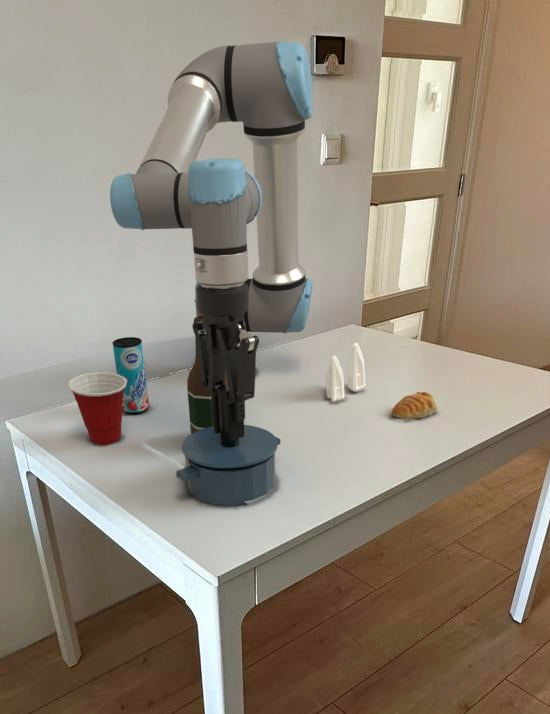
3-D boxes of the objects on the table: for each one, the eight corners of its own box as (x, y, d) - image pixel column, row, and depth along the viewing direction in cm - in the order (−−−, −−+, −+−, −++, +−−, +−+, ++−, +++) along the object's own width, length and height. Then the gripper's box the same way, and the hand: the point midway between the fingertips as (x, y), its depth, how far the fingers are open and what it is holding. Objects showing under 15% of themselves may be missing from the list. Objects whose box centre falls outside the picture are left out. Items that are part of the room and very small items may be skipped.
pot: (158, 487, 106) (154, 454, 103) (249, 452, 117) (248, 420, 114) (209, 522, 97) (207, 486, 93) (304, 480, 107) (305, 446, 104)
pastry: (409, 425, 124) (411, 407, 122) (382, 416, 129) (384, 398, 127) (438, 412, 129) (441, 395, 127) (412, 404, 134) (413, 386, 132)
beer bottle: (191, 436, 123) (181, 312, 111) (231, 434, 124) (225, 309, 111) (192, 454, 117) (181, 324, 104) (234, 451, 117) (228, 321, 105)
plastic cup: (108, 455, 118) (99, 394, 111) (67, 444, 123) (55, 385, 116) (145, 434, 125) (138, 376, 119) (105, 424, 130) (96, 367, 124)
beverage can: (125, 417, 133) (115, 347, 125) (119, 407, 138) (109, 339, 130) (152, 412, 135) (144, 343, 127) (145, 403, 140) (137, 335, 132)
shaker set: (357, 385, 144) (360, 337, 138) (371, 390, 141) (375, 341, 136) (320, 398, 138) (321, 349, 132) (334, 404, 135) (336, 353, 129)
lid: (164, 448, 104) (157, 387, 99) (237, 422, 113) (235, 364, 107) (221, 481, 94) (217, 415, 88) (297, 450, 102) (298, 388, 96)
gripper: (168, 279, 93) (182, 426, 105) (236, 296, 82) (242, 457, 94) (209, 271, 97) (217, 414, 109) (279, 287, 86) (279, 443, 98)
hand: (229, 434), depth 102 cm, fingers closed on lid, 3 cm apart
